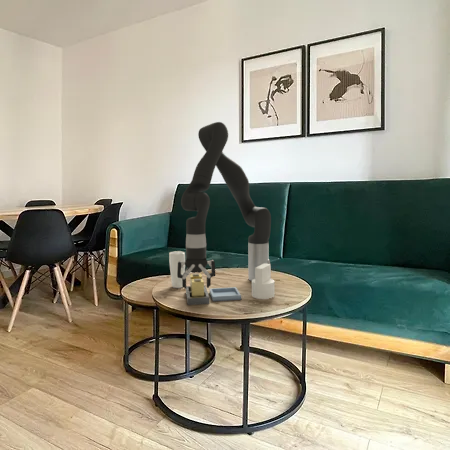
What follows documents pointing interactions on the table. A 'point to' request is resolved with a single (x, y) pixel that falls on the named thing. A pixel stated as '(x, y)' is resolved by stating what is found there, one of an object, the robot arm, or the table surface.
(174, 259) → the white tapered cylinder
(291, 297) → the table surface
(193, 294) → the gold square peg
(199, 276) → the square peg
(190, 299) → the frame
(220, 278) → the table surface
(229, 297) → the parts tray
